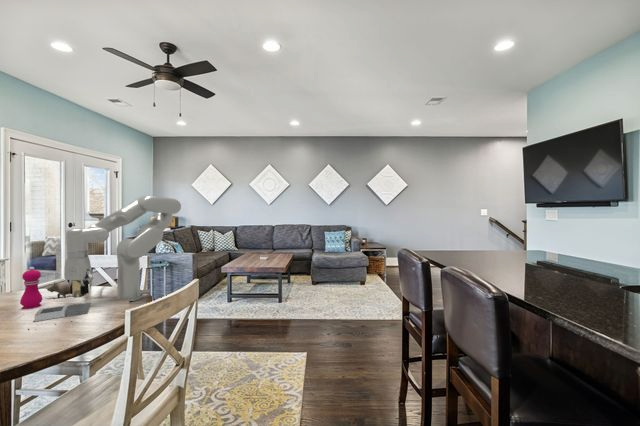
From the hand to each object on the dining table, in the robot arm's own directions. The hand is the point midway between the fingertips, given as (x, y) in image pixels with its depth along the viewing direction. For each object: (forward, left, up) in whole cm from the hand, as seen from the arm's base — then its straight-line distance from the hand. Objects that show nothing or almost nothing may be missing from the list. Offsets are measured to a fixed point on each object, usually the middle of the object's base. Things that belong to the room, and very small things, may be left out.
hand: (79, 293), depth 131 cm
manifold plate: (+5, +5, -8) cm, 10 cm away
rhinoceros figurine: (+8, -27, -8) cm, 29 cm away
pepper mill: (+18, -11, -8) cm, 22 cm away
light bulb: (0, 0, -1) cm, 1 cm away
